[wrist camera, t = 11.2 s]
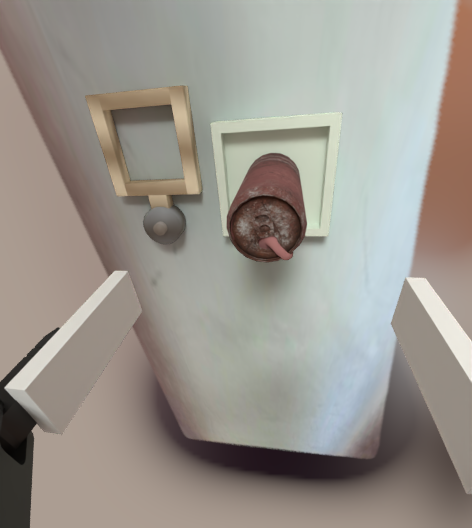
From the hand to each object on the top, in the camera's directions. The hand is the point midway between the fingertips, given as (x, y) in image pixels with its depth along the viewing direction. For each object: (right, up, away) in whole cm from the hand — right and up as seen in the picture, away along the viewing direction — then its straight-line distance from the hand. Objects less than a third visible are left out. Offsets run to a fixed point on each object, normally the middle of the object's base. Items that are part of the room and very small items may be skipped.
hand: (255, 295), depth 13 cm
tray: (+4, +12, +18) cm, 22 cm away
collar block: (-11, +13, +20) cm, 26 cm away
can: (+3, +11, +18) cm, 22 cm away
